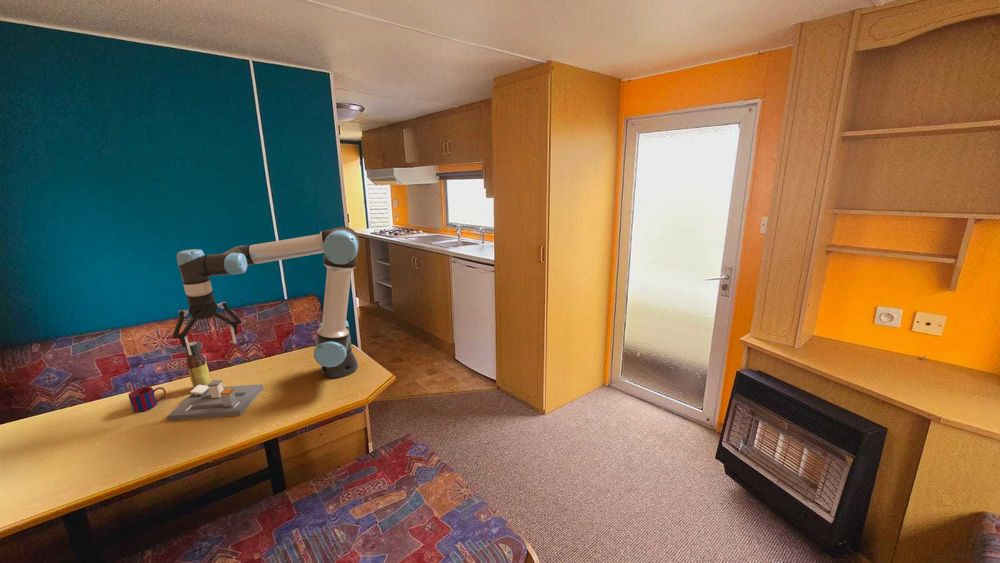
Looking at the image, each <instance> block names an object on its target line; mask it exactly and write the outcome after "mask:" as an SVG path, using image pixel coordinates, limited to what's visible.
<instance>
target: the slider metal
mask: <svg viewBox="0 0 1000 563" xmlns="http://www.w3.org/2000/svg"><path fill="white" fill-rule="evenodd" d="M220 395H221V398H222V402H223V406H224V407H232V406H233V405H234V404H235V403H236V402H237V400H236V396H235V392H234V388H226V389H224V390H223V391H222V392H221V393H220Z"/></svg>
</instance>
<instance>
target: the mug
mask: <svg viewBox="0 0 1000 563" xmlns="http://www.w3.org/2000/svg"><path fill="white" fill-rule="evenodd" d="M158 390H162V391H163V393H164V394H163V396H162V397H160V398H158V399H156V395H155V393H156V391H158ZM166 395H167V390H166V388H164V387H160V386H159V387H157V388H155V389H154V388H153V387H152V386H145V387H140V388H137V389H135V390H132V391H131V392H129V393H128V399H129V401H130V406H131V408H132V412H134V413H136V414H139V413H145V412H147V411H150V410H152V409H154V408H155V407H156V406H157V405H158V402H159V401H162V400H163V399H164V398H165V397H166Z"/></svg>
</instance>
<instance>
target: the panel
mask: <svg viewBox="0 0 1000 563" xmlns="http://www.w3.org/2000/svg"><path fill="white" fill-rule="evenodd" d="M226 388H234V392H235V396H236V400H237V402H236V403H235V404H234V405H233V406H232V407H224V406H223V402H222V398H221V397H220V398H211V394H210V390H209V389H208V390H207V391H206V392H204V393H203V394H202V395H198V396H195V394H192V393H190V395H189V396H187V398H186V399H184V401H183V402H181V403H180V404H179V405H178V406H177V407H176V408H174V409H173V410H172V411H171V412H170V413H168V415H166V419H167V420H168V421H167V422H169V421H170V422H171V421H173V422H174V421H184V420H195V419H198V420H199V419H208V418H209V419H210V418H211V419H212V418H221V417H232V416H233V417H235V416H241V415H242V414H243V413H244V412H245V411H246V409H247V408H248V407H249V406H250V405H251V404H252V402H253V401H254V400H255V399H256V398H257V396H259V394H260V393H261V392H262V391H263V389H264V384H247V385H234V386H233V385H232V386H223V390H224V389H226Z"/></svg>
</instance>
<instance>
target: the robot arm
mask: <svg viewBox="0 0 1000 563" xmlns="http://www.w3.org/2000/svg"><path fill="white" fill-rule="evenodd" d="M360 242H361V241H360V237H359V234H357V232H356V231H355V230H354V229H352V228H350V227H347V226H339V227H335V228H331V229H327V230H322V231H320V233H318V234H312V235H305V236H300V237H295V238H294V237H293V238H288V239H282V240H274V241H269V242H268V241H267V242H263V243H261V242H260V243H256V244H250V245H238V246H233V247H232V248H230V249H229V250H227V251H225V252H223V253H217V254H205V253H204V251H203V249H197V248H193V249H186V250H182V251H181V250H180V251H179V252H177V253H176V260H177V267H178V269H179V273H180V276H181V280H182V285H183V289H184V292H185V295H186V300H187V303H188V309H184V310H183V309H179V310H178V319H177V322H176V324H175V327H174V330H173V332H172V335H171V336H172V338H173V339H174V340H175V339H178V340H180V342H181V347H183V348H185V347H186V346H187V349H188V353H189V356H190V355H192V353H191V349H190V346H189V343H190V342H189V339H188V336H187V334H188V333H189V332H190V330H191V329H192V327H194V325H195V323H197V321H198V320H205V319H209V318H210V319H211V318H212V317H216V318H218V319H220V320H221V321H223V322H225V323H226V324H228V325H229V330H230V333H231V338H232V341H233V343H234V344H237V343H238V341H237V338H236V335H237V334H238V333H239V331H238V325H239V324H242V320H241V319H240V318H239V317H238V316H237V315H236V314H235V313H234V312H233V311H232V309H230V308H229V306H228V305H227V302H226V301H221V302H219V303H216V301H215V300H216V299H215V295H214V292H213V287H212V284H211V279H210V278H211V277H216V276H217V277H218V276H231V275H232V276H235V275H240V274H245V273H246V271H247V269H248V266H253V265H257V264H265V263H270V262H276V261H283V260H287V259H293V258H295V259H296V258H300V257H301V258H302V257H305V256H311V255H312V256H313V255H318V254H323V262H322V263H323V265H324V266H325V268H326V278H325V287H324V288H325V291H324V299H323V312H322V322H321V323H319V326H318V327H319V328H318V329H317V330H316V339H315V340H316V342H315V346H314V350H313V358H314V360H315V362H317V363H318V364H319V365H320V371H321V375H322V376H323V377H326V378H329V379H331V378H332V379H334V378H335V379H336V378H342V377H346V376H349V375H351V374H353V373H354V372H356V371H357V370H358V368H359V363H358V359H357V357H356V356H355V353H354V352H353V349H352V341H351V340H352V339H351V334H350V325H349V321H348V320H347V314H348V306H349V296H350V288H351V277H352V271H353V270H355V269H356V267H357V263H358V262H357V261H358V254H359V253H358V251H359V248H360V247H359V246H360ZM219 308H220V309H224V311H225V312H226V313H227V314H228V315H229V316H230V317H231V318H232V319H233V320H232V319H230V318H229V317H226V316H225V315H224V314H221V313H220V312H218V311H217V310H218V309H219ZM188 314H189V315H191V317H190V319H189V320H188V322H187V324H185V326H184V327H183V329H182V330H181V328H182V325H183V323H184V320H185V317H187V316H188ZM180 331H181V332H180ZM355 370H356V371H355Z"/></svg>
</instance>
